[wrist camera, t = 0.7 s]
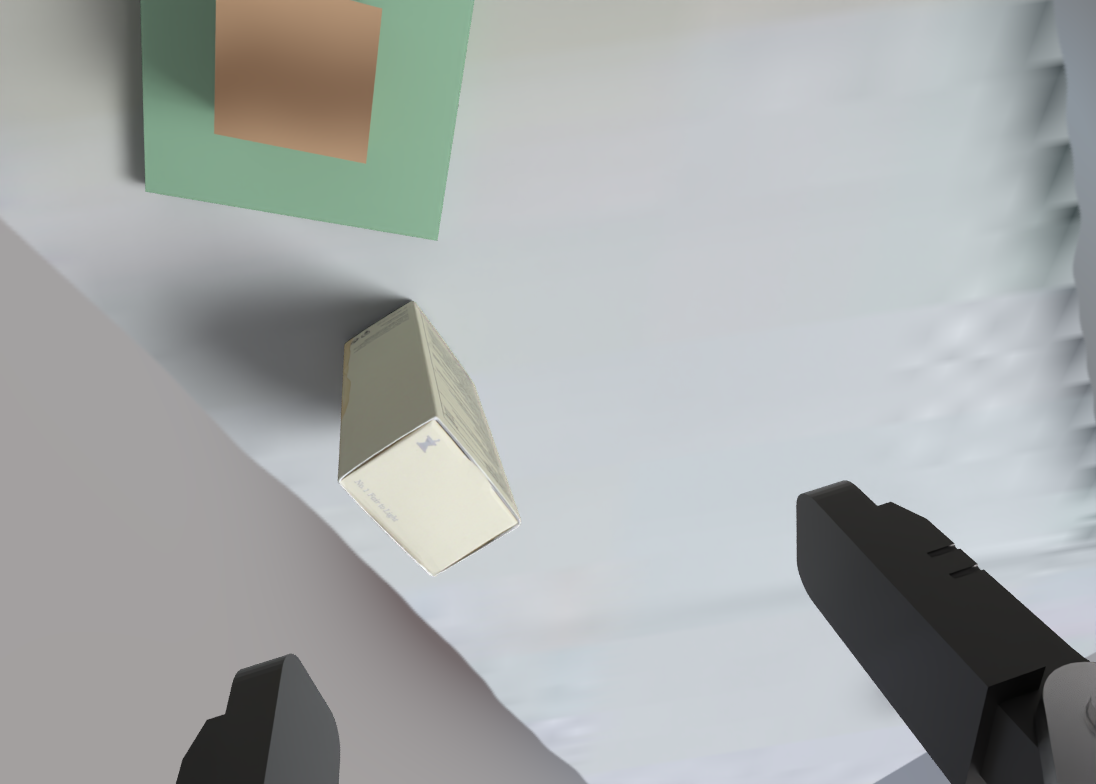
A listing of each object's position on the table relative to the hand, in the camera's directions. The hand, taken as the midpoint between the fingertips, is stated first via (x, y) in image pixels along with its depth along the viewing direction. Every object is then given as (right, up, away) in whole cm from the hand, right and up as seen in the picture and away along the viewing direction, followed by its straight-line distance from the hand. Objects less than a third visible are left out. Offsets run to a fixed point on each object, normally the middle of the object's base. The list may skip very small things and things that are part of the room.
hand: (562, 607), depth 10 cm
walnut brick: (-10, +16, +16) cm, 25 cm away
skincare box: (-7, +5, +24) cm, 26 cm away
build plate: (-10, +17, +17) cm, 26 cm away
